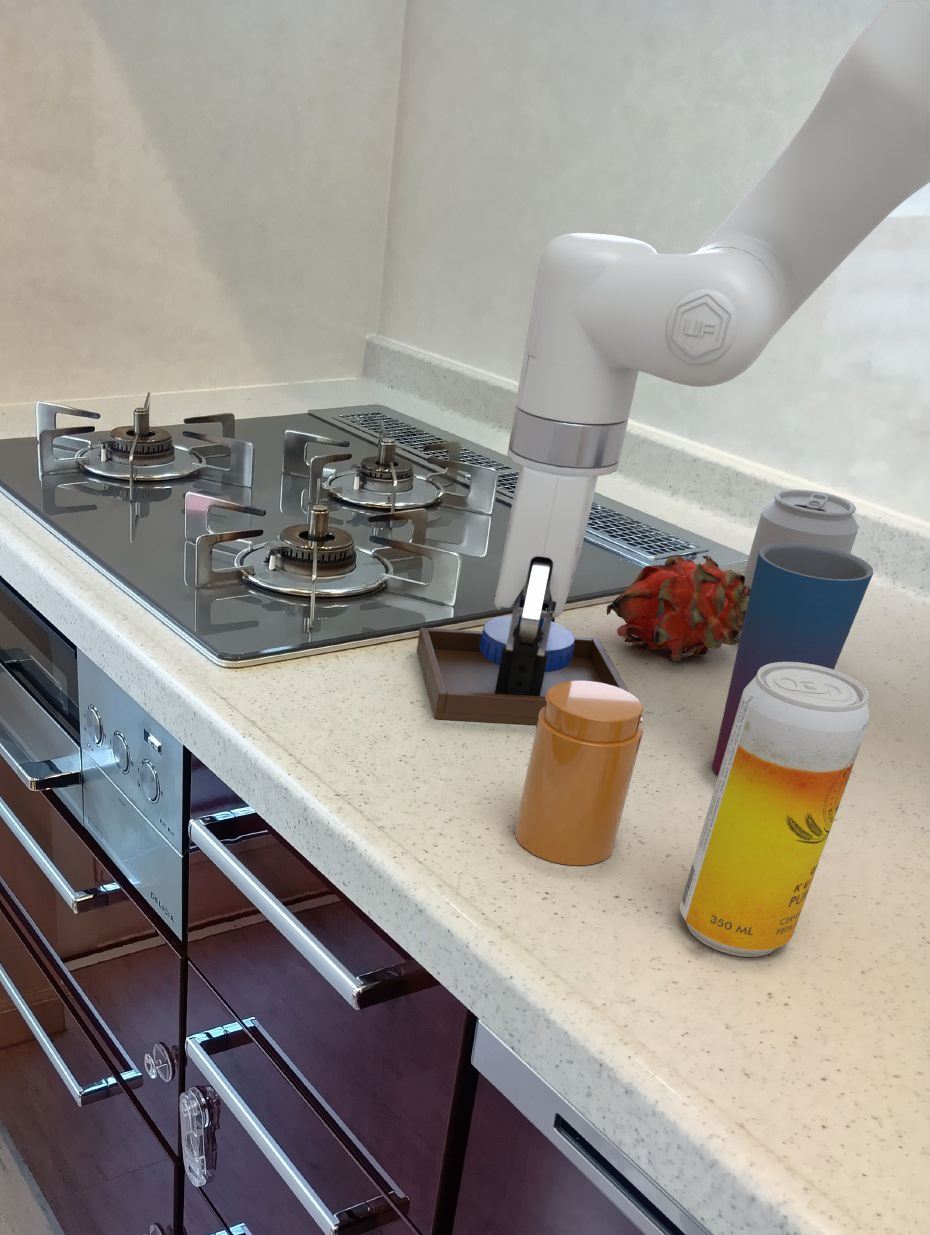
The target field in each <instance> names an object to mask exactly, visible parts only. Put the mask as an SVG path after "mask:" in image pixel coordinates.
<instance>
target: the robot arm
mask: <svg viewBox="0 0 930 1235" xmlns="http://www.w3.org/2000/svg"><path fill="white" fill-rule="evenodd" d="M929 183H930V0H889V1H888V2H887V3H886V5H885V6H884V7H883V8H882V10H880V12H879V13H878V14H876V16H875V17H874V18H873V19H872V21H871V22H870V23H869V24H868V25H867V26H866V28H865V29H864V30H863V31H862V32H861V33H860V35H858V37H857V38H856V40H855V41H854V42H853V43H852V44H851V46H850V47H849V49H848V50H847V51H846V53H845V54H844V55H843V57H842V58H841V60H840V61H839V63H838V64H837V65H836V67H835V68H834V70H833V72H831V75H830V77H829V79H828V80H827V82H826V84H825V85H824V87H823V89H822V92H821V93H820V95H819V97H818V99H817V101H816V103H815V104H814V106H813V108H812V110H811V111H810V113H809V114H808V116H807V117H806V119H805V120H804V122H803V123H802V125H801V126H800V128H799V129H798V130H797V132H796V133H795V134H794V136H793V137H792V138H791V140H790V141H789V143H787V145H786V146H785V147H784V149H783V150H782V151H781V153H780V154H779V155H778V156H777V157H776V159H775V160H774V162H773V163H772V164H771V165H770V167H769V168H767V170H766V171H765V172H764V173H763V175H762V176H761V177H760V178H759V180H758V181H757V182H756V183H755V185H753V186H752V187H751V189H750V190H749V191H748V193H747V194H746V195H745V196H744V197H743V198H742V200H741V201H740V202H739V203H738V204H737V205H736V207H735V208H734V209H733V210H732V211H731V212H730V213H729V215H728V216H727V217H726V218H725V220H724V221H723V222H722V223H721V224H719V227H717V229H716V230H715V231H714V232H713V233H712V235H711V236H710V237H709V238H708V239H707V240H706V241H705V242H704V243H703V244H702V245H701V246H700V248H698V250H697V251H696V252H692V253H691V252H690V253H658V252H657V251H656V249H655V248H654V247H653V246H652V245H650V244H649V243H646V242H645V241H642V240H639V239H636V238H631V237H627V236H621V235H614V234H605V233H594V232H593V233H592V232H591V233H589V232H575V233H565V234H562V235H558V236H556V237H554V238H553V239H551V240H550V241H549V242H548V243H547V245H546V246H545V248H544V250H543V251H542V252H541V256H540V261H539V265H538V269H537V274H536V280H535V284H534V285H535V286H534V291H533V299H532V304H531V308H530V309H531V311H530V316H529V321H528V328H527V333H526V339H525V340H526V341H525V346H524V352H523V358H522V359H523V360H522V364H521V370H520V377H519V381H518V388H517V389H518V390H517V394H516V401H515V406H514V412H513V418H512V424H511V431H510V435H509V443H508V447H507V453H506V454H507V458H508V459H510V461H511V462H513V463H515V464H516V465H519V466H520V468H519V471H518V475H517V479H516V484H515V489H514V493H513V497H512V502H511V506H510V507H511V508H510V513H509V517H508V523H507V528H506V535H505V541H504V547H503V553H502V558H501V562H500V570H499V575H498V580H497V584H496V591H495V596H494V601H493V605H494V607H495V608H496V609H497V610H498V611H502V610H503V608H505V609H511V607H512V606H513V608H512V614H511V616H512V620H511V625H510V630H509V635H508V640H507V645H506V647H504V646H503V650H502V656H501V661H500V667H499V672H498V678H497V684H496V689H495V694H507V695H524V696H540V693H541V688H542V683H543V678H544V673H545V668H546V663H547V658H548V653H545V649H546V644H547V639H548V634H549V629H550V624H551V621H552V622H554V623H556V621H555V620H556V618H558V617H560V616H562V615H563V612H564V609H565V607H566V604H567V599H568V597H569V593H570V591H571V588H572V584H573V581H574V578H575V574H576V571H577V567H578V564H579V560H580V557H581V554H582V548H583V544H584V541H585V540H584V539H585V536H586V533H587V528H588V523H589V519H590V515H591V511H592V505H593V501H594V496H595V491H596V487H597V483H598V477H602V476H607V475H611V474H613V473H616V472H617V471H618V470H619V467H620V466H619V465H620V463H621V462H620V461H621V456H622V450H623V447H624V443H625V438H626V437H625V436H626V432H627V427H628V422H629V418H630V414H631V409H632V403H633V400H634V394H635V390H636V385H637V381H638V376H639V372H642V373H644V374H646V375H650V376H653V377H656V378H659V379H661V380H665V381H668V382H672V383H673V384H678V385H683V386H686V387H687V386H688V387H697V388H706V387H714V386H718V385H722V384H725V383H728V382H730V381H732V380H734V379H736V378H737V377H739V376H740V375H741V374H743V373H745V372H746V371H747V370H748V369H749V368H750V367H751V366H752V365H753V364H754V363H755V362H756V361H757V359H758V358H760V356H761V355H762V353H763V352H764V350H765V348H766V347H767V346H768V344H769V343H770V341H771V340H772V339H773V338H774V337H775V335H777V333H778V332H779V331H780V330H781V329H782V328H783V326H785V325H786V323H787V322H788V321H789V320H790V318H792V317H793V315H794V314H795V313H796V312H797V311H798V310H799V309H800V308H801V307H802V306H803V305H804V303H805V302H807V301H808V299H809V298H810V297H811V296H812V295H813V294H814V293H815V292H816V291H817V289H819V287H820V286H822V284H823V283H824V282H825V281H826V280H827V279H828V278H829V277H830V276H831V275H832V274H833V272H835V271H836V269H837V268H838V267H839V266H840V265H841V264H842V263H843V262H844V261H845V260H846V259H847V258H848V257H849V256H850V254H852V252H853V251H855V249H857V247H859V245H860V244H861V243H863V241H865V240H866V238H867V237H868V236H869V235H870V234H871V233H872V232H873V231H874V230H875V229H876V228H877V227H878V226H879V225H880V224H881V223H882V222H883V221H884V220H885V219H887V217H888V216H889V215H891V213H893V212H894V211H895V210H896V209H897V208H898V207H899V206H900V205H901V204H903V203H904V202H905V201H907V200H908V199H909V198H910V197H912V196H913V195H914V194H916V193H918V192H919V191H920V190H921V189H922V188H924V187H926V186H927V185H929ZM520 617H522V619H521V624H519V618H520ZM540 620H543V621H544V622H543V627H538V626H539V621H540ZM541 628H542V629H541ZM538 644H539V646H538ZM537 651H538V652H537Z"/></svg>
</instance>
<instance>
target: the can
mask: <svg viewBox="0 0 930 1235" xmlns="http://www.w3.org/2000/svg"><path fill="white" fill-rule="evenodd" d="M773 498H774V501H773V502H771V503H770V504H768V505H767V506H766V507H764V508H763V509H762V511H761V513H760V516H759V520H758V524H757V527H756V530H755V534H754V538H753V541H752V543H751V547H750V548H751V549H750V551H749V555H748V559H747V562H746V566H745V569H744V573H743V576H745V582H744V583H745V584H744V586H749V588H750V589H751V586H752V581H753V577H754V572H755V567H756V563H757V558H758V554H759V550H760V549H761V548H762V547H763V546H766V545H769V544H773V543H784V542H792V543H805V544H813V545H819V546H824V547H829V548H833V549H837V550H840V551H843V552H846V553H849V554H852V550H853V546H854V544H855V541H856V538H857V534H858V531H859V527H860V526H859V524H858V523H857V520H856V519H855V517H854V515H853V514H854V513H856V511H857V507H856V505H855V504H854V503H853V502H851V501H849V500H848V499H846V498H843V497H841V496H838V495H834V494H830V493H827V492H822V491H817V490H810V489H794V488H792V489H782V490H780V491H777V492H775V494H774V496H773ZM741 632H742V631H739V634H738V635H737V637H738V639H740V636H741Z"/></svg>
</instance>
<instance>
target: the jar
mask: <svg viewBox="0 0 930 1235" xmlns="http://www.w3.org/2000/svg"><path fill="white" fill-rule="evenodd" d="M545 700H546V706H544V707H543V708H542V709H541V710H540V712H539V714H538V719H537V724H536V725H535V729H534V734H533V739H532V744H531V750H530V753H529V759H528V764H527V768H526V773H525V779H524V784H523V787H522V788H523V789H522V794H521V799H520V803H519V808H518V813H517V818H516V823H515V828H514V836H515V838H516V841H517V842H518V843H519V845H520V846H521V847H522V848H523V849H524V850H526V851H527V852H529V853H531V854H532V855H533V856H535V857H538V858H540V859H542V860H545V861H548V862H552V863H555V864H560V865H567V866H590V865H595V864H599V863H602V862H604V861H606V860H607V859H608V858H609V857H610V856H612V854H613V852H614V848H615V845H616V840H617V837H618V832H619V830H620V825H621V820H622V817H623V812H624V809H625V806H626V801H627V797H628V793H629V789H630V785H631V781H632V777H633V773H634V770H635V765H636V761H637V757H638V753H639V749H640V746H641V742H642V739H643V738H642V737H643V734H644V730H643V726H642V724H643V722H644V721H643V717H644V715H643V711H644V706H643V703H642V701H641V700H640V699H639V698H638V697H637V696H635V695H634V694H633V693H632V692H630V691H629V692H627V691H625V690H623V689H621V688H618V687H615V686H612V685H609V684H604V683H599V682H593V681H567V682H562V683H559V684H556V685H555V686H553V687H552V688H550V689H549V690H548V692H546V697H545Z"/></svg>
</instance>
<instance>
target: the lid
mask: <svg viewBox="0 0 930 1235" xmlns="http://www.w3.org/2000/svg"><path fill="white" fill-rule="evenodd" d="M521 619H522V617H520V618H519V624H521ZM511 620H512V615H503V616H497V617H493V618H490V619H489V620H487V621H486V622H485V623H484V625H483V627H482V633H481V639H480V645H479V648H480V650H481V653H482V654H483V655H484V656H485V657H486V658H487V659H489V660H490V661H492V662H493V663H496V664H498V665H500V661H501V656H502V650H503V646H504V647H506V645H507V640H508V635H509V630H510V625H511ZM543 622H544V621H543V620H540V621H539V626H538V627H543ZM541 629H542V628H541ZM574 637H575V635H574V633H573V632H572V631H571V630H570V629H568V628H567V627H565V626H564V625H561V624H559V623H557V622H552V621H551V624H550V629H549V634H548V639H547V644H546V649H545V653H548V658H547V663H546V668H545V672H552V671H557V670H560V669H562V668H565V667H567V665H568V664H569V663H571V660H572V655H573V650H574V645H575V644H574V641H575V638H574ZM538 646H539V644H538ZM537 652H538V651H537Z"/></svg>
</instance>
